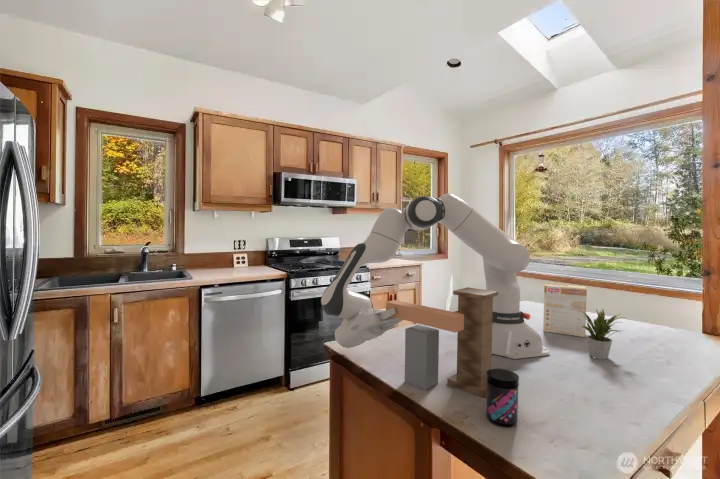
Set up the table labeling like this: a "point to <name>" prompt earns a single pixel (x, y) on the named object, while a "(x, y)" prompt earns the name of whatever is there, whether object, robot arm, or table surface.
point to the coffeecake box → (564, 309)
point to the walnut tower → (474, 340)
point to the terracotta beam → (427, 316)
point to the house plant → (600, 335)
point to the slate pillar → (421, 356)
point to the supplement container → (502, 397)
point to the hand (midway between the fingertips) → (401, 308)
